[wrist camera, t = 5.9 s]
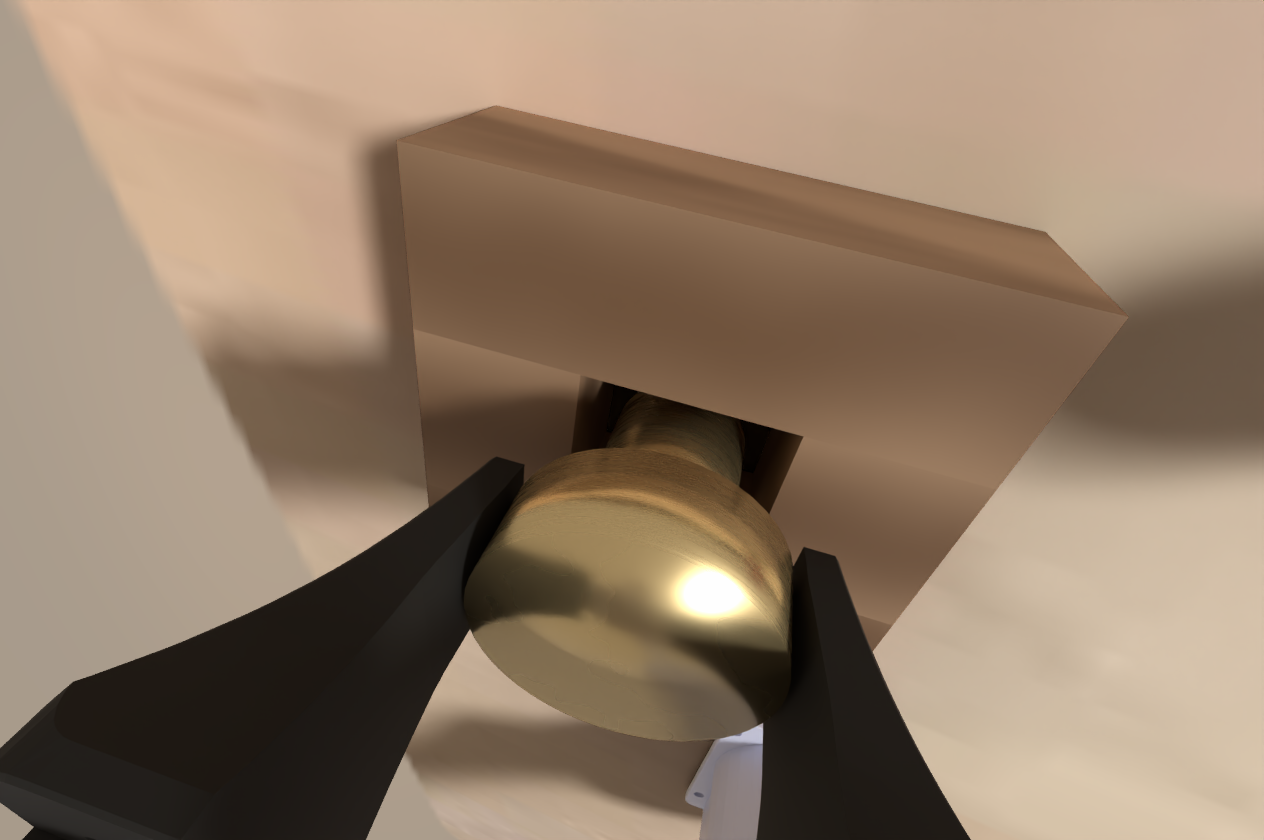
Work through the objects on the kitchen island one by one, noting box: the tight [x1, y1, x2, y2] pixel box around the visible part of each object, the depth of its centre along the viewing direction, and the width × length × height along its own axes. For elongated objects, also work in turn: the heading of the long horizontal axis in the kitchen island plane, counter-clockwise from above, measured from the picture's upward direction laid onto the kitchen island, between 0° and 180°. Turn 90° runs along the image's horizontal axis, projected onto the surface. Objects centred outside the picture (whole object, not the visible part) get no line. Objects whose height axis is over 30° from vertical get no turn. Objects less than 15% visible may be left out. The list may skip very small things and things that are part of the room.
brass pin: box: [464, 392, 794, 742], centre depth 12 cm, size 6×6×6 cm
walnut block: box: [396, 106, 1129, 651], centre depth 15 cm, size 12×12×4 cm
